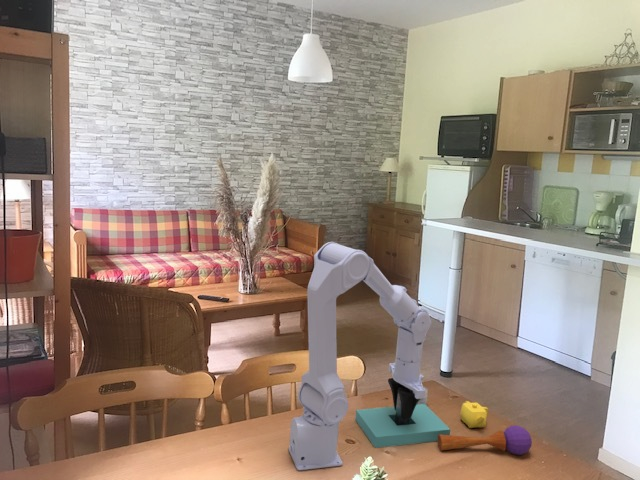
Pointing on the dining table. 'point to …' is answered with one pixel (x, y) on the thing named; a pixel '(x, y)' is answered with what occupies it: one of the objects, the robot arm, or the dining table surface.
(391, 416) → the hole plate
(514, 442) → the kendama
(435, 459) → the dining table surface
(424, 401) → the short pin
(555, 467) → the dining table surface
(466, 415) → the teapot
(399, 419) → the tall pin
